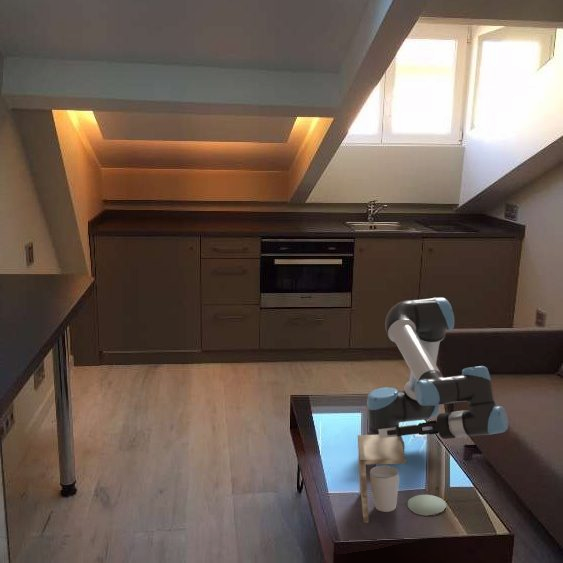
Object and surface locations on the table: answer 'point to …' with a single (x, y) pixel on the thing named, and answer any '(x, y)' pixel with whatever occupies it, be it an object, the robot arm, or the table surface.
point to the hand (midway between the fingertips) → (389, 432)
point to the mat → (426, 504)
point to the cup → (384, 487)
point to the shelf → (376, 459)
